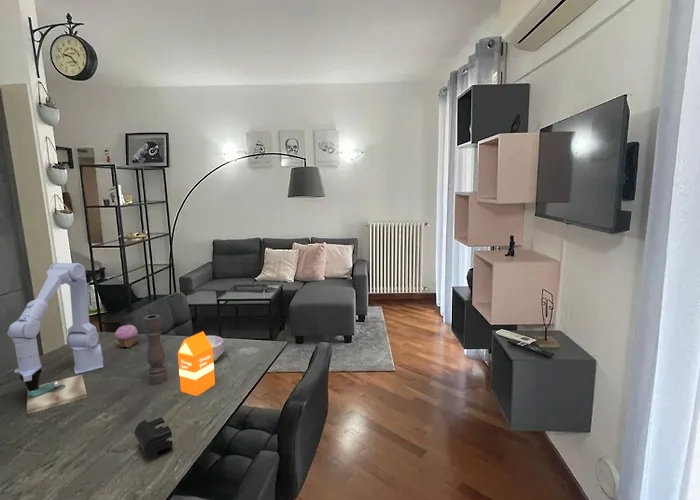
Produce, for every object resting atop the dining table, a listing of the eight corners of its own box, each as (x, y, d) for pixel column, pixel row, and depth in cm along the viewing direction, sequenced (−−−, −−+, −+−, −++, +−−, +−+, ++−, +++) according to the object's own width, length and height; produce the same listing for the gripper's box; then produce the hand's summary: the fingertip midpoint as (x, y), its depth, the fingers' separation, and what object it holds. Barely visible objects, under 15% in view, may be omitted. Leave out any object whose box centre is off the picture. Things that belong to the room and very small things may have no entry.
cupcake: (112, 349, 174) (109, 328, 172) (126, 342, 182) (124, 321, 181) (129, 350, 172) (127, 329, 171) (143, 343, 181) (141, 322, 179)
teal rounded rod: (59, 384, 139) (58, 379, 138) (61, 386, 137) (61, 381, 137) (27, 396, 131) (26, 390, 131) (30, 398, 130) (29, 392, 130)
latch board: (82, 378, 148) (82, 373, 148) (87, 397, 134) (86, 393, 134) (28, 392, 138) (27, 387, 138) (27, 414, 124) (26, 409, 124)
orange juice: (215, 384, 142) (211, 332, 139) (196, 396, 134) (192, 341, 131) (199, 380, 145) (195, 329, 142) (180, 391, 137) (175, 337, 134)
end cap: (135, 445, 109) (133, 423, 108) (162, 434, 113) (160, 413, 112) (145, 464, 101) (143, 440, 100) (173, 451, 106) (171, 429, 105)
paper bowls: (232, 356, 165) (231, 339, 164) (201, 371, 152) (200, 352, 151) (209, 349, 173) (208, 332, 172) (178, 362, 160) (176, 344, 159)
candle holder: (171, 378, 147) (165, 315, 143) (158, 386, 141) (151, 320, 137) (158, 375, 149) (152, 313, 145) (145, 383, 143) (138, 318, 139)
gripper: (16, 350, 135) (22, 386, 137) (8, 366, 123) (15, 405, 125) (41, 345, 139) (47, 380, 141) (36, 360, 127) (43, 398, 129)
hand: (33, 391), depth 133 cm, fingers closed, pressing on teal rounded rod
